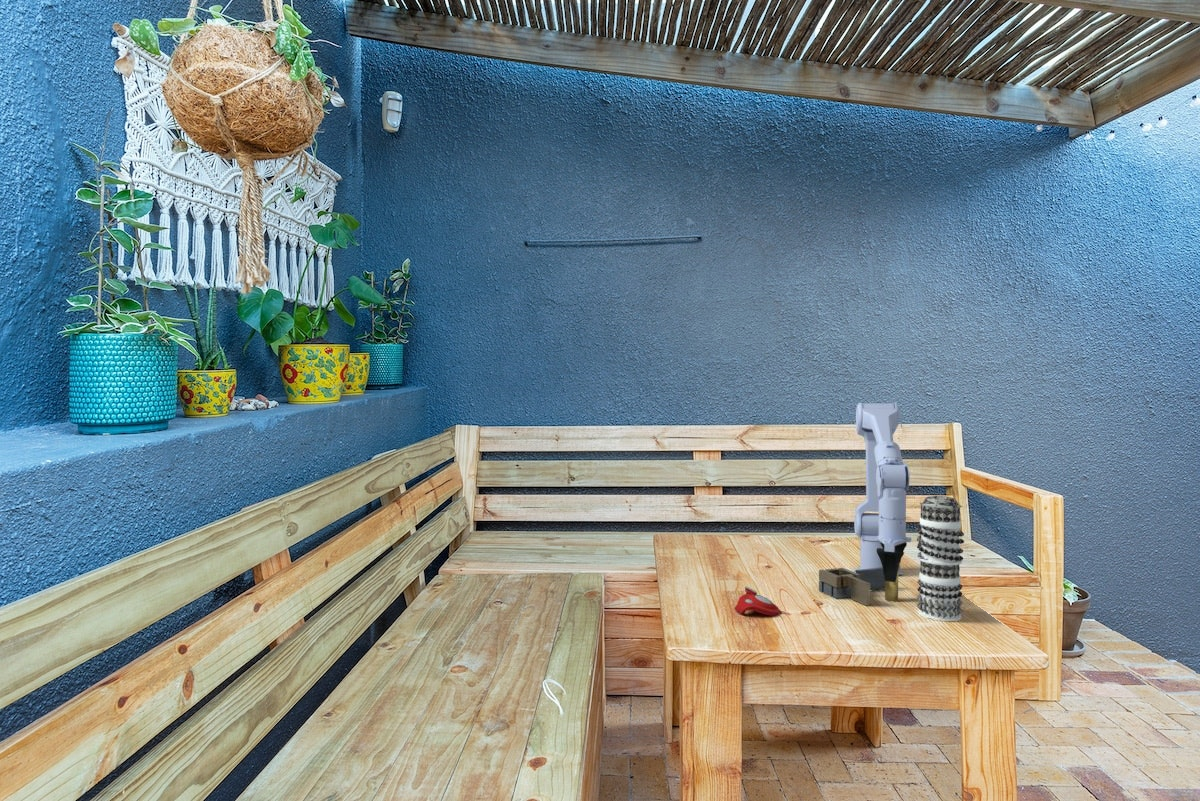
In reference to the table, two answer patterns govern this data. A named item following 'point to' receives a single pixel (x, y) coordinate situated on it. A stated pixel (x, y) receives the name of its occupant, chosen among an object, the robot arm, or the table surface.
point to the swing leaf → (847, 583)
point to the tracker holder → (755, 603)
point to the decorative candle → (939, 559)
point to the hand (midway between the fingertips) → (891, 577)
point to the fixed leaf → (867, 575)
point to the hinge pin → (891, 590)
